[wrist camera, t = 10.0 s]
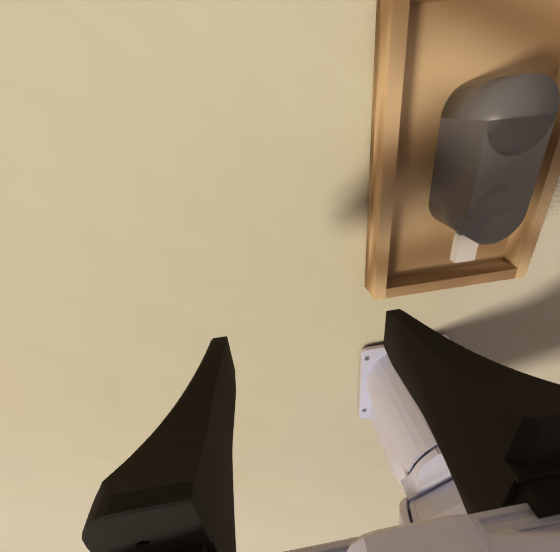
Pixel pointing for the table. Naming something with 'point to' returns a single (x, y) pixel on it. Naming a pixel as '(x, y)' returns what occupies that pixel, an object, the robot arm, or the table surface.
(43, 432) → the table surface
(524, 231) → the oak tray
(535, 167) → the grey rounded long block
